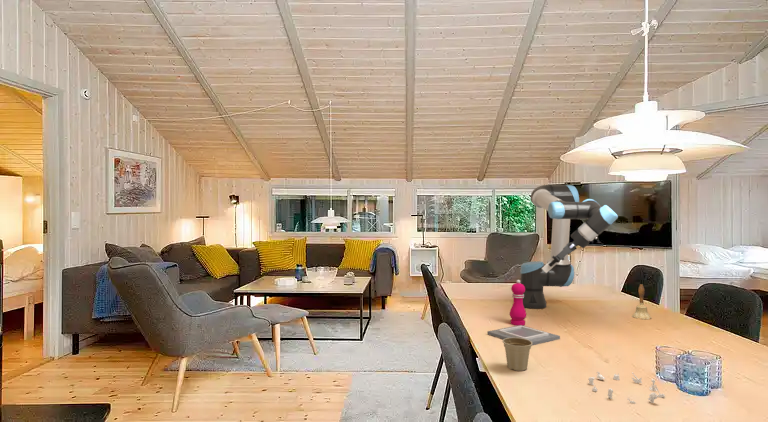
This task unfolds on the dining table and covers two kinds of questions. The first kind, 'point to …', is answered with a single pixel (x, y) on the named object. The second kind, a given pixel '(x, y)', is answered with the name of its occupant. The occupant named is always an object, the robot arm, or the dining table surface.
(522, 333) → the plate
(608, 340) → the dining table surface
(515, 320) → the pepper mill
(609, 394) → the game piece set
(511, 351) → the flower pot
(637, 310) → the hand bell
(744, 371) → the dining table surface
